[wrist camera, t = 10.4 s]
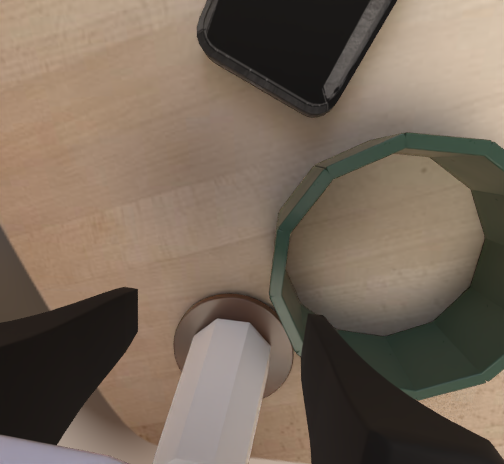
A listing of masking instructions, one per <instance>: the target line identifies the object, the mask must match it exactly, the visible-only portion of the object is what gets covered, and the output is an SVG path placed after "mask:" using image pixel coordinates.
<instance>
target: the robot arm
mask: <svg viewBox="0 0 504 464" xmlns="http://www.w3.org/2000/svg"><path fill="white" fill-rule="evenodd" d="M137 332H138V289H135V288H128V287H122V288H118V289H114V290H111V291H108V292H105V293H102V294H99V295H96V296H94V297H91V298H88V299H85V300H82V301H79V302H76V303H73V304H70V305H67V306H64V307H61V308H58V309H55V310H51V311H48V312H45V313H41V314H38V315H34V316H30V317H26V318H21V319H17V320H13V321H8V322H3V323H0V464H129V463H127V462H124V461H122V460H119V459H117V458H114V457H112V456H109V455H104V454H99V453H94V452H88V451H83V450H78V449H73V448H67V447H62V446H57V444H58V442H59V441H60V439H61V437H62V436H63V434H64V433H65V431H66V430H67V428H68V427H69V425H70V424H71V422H72V421H73V419H74V418H75V416H76V415H77V413H78V412H79V410H80V409H81V407H82V406H83V405H84V403H85V402H86V401H87V399H88V398H89V397H90V395H91V394H92V393H93V392H94V391H95V389H96V388H97V387H98V386H99V384H100V383H101V382H102V381H103V379H104V378H105V377H106V376H107V375H108V373H109V372H110V371H111V370H112V368H113V367H114V366H115V365H116V363H117V362H118V361H119V360H120V358H121V357H122V356H123V354H124V353H125V352H126V350H127V349H128V347H129V346H130V344H131V342H132V341H133V339H134V337H135V335H136V334H137ZM301 381H302V389H303V396H304V403H305V410H306V417H307V423H308V430H309V437H310V447H311V463H312V464H504V460H503V458H502V457H501V456H500V454H499V453H498V451H497V450H496V449H495V447H494V446H493V445H492V444H491V442H490V441H489V440H487V439H485V438H483V437H481V436H479V435H477V434H475V433H473V432H471V431H469V430H467V429H465V428H463V427H462V426H460V425H458V424H456V423H454V422H452V421H450V420H448V419H446V418H445V417H443V416H441V415H439V414H438V413H436V412H434V411H433V410H431V409H429V408H428V407H426V406H424V405H423V404H421V403H420V402H418V401H416V400H415V399H413V398H412V397H410V396H409V395H408V394H406V393H405V392H403V391H402V390H400V389H399V388H398V387H396V386H395V385H393V384H392V383H391V382H389V381H388V380H387V379H386V378H384V377H383V376H382V375H381V374H379V373H378V372H377V371H376V370H375V369H373V368H372V367H371V366H370V365H369V364H368V363H367V362H366V361H364V360H363V359H362V358H361V357H360V356H359V355H358V354H357V353H356V352H355V351H354V350H353V349H352V348H351V347H350V346H349V345H348V343H347V342H346V341H345V340H344V339H343V338H342V337H341V336H340V335H339V333H338V332H337V331H336V330H335V329H334V327H333V326H332V325H331V324H330V323H329V322H328V320H327V319H326V318H325V317H324V316H323V315H317V314H310V313H308V316H307V322H306V328H305V334H304V340H303V346H302V352H301Z"/></svg>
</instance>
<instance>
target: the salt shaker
mask: <svg viewBox="0 0 504 464" xmlns="http://www.w3.org/2000/svg"><path fill="white" fill-rule="evenodd" d="M270 349H271V346H270V345H269V343H268V342H267V341H266V340H265V339H264V338H263V337H262V336H261V335H260V334H259V332H258V331H257V330H256V329H255V328H254V327H253V326H252V325H251V324H250V323H249V322H241V321H233V320H226V319H216V320H214V321H213V322H212V323H210V324H209V325H208V326H206V327H205V328H204V329H202V330H201V331H200V332H198V333H197V334H196V335H194V337H193V340H192V343H191V346H190V349H189V352H188V355H187V358H186V362H185V365H184V368H183V371H182V374H181V377H180V380H179V383H178V386H177V389H176V392H175V395H174V398H173V401H172V404H171V407H170V410H169V413H168V416H167V419H166V423H165V426H164V429H163V432H162V435H161V438H160V441H159V444H158V447H157V450H156V453H155V457H154V460H153V464H248V463H249V459H250V454H251V450H252V445H253V440H254V436H255V431H256V426H257V422H258V417H259V412H260V408H261V403H262V398H263V394H264V389H265V384H266V380H267V375H268V367H269V358H270Z"/></svg>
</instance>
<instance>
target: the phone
mask: <svg viewBox="0 0 504 464" xmlns="http://www.w3.org/2000/svg"><path fill="white" fill-rule="evenodd" d="M396 1H397V0H207V2H206V4H205V7H204V9H203V11H202V14H201V16H200V18H199V22H198V25H197V38H198V41H199V44H200V46H201V47H202V49H203V51H204V52H205V53H206V55H207V56H208V57H209V59H211V60H212V61H213V62H214V63H216V64H218V65H219V66H221V67H223V68H224V69H226V70H228V71H229V72H231V73H233V74H235V75H236V76H238V77H240V78H241V79H243V80H245V81H247V82H248V83H250V84H252V85H253V86H255V87H257V88H258V89H260V90H262V91H264V92H265V93H267V94H269V95H270V96H272V97H274V98H276V99H277V100H279V101H281V102H282V103H284V104H286V105H288V106H289V107H291V108H293V109H294V110H296V111H298V112H299V113H301V114H303V115H305V116H308V117H319V116H322V115H324V114H326V113H327V112H329V111H330V110H331V109H332V108H333V106H334V105H335V104H336V103H337V101H338V100H339V98H340V97H341V95H342V93H343V91H344V90H345V88H346V86H347V85H348V83H349V81H350V80H351V78H352V76H353V74H354V73H355V71H356V69H357V68H358V66H359V64H360V63H361V61H362V59H363V57H364V56H365V54H366V52H367V51H368V49H369V47H370V46H371V44H372V42H373V40H374V39H375V37H376V35H377V34H378V32H379V30H380V29H381V27H382V25H383V23H384V22H385V20H386V18H387V17H388V15H389V13H390V12H391V10H392V8H393V6H394V5H395V3H396Z"/></svg>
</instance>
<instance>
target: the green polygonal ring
mask: <svg viewBox="0 0 504 464" xmlns="http://www.w3.org/2000/svg"><path fill="white" fill-rule="evenodd" d="M391 154H404V155H415V156H425V157H430V158H431V159H433V160H434V161H435V162H436V163H438V164H439V165H440V166H442V167H443V168H444V169H445V170H447V171H448V172H449V173H450V174H452V175H453V176H454V177H456V178H457V179H458V180H459V181H461V182H462V183H463V184H465V185H466V186H467V187H468V188H470V189H471V191H472V195H473V198H474V201H475V205H476V208H477V211H478V215H479V218H480V221H481V225H482V228H483V231H484V235H485V238H486V239H485V242H484V245H483V248H482V251H481V254H480V258H479V261H478V264H477V267H476V270H475V274H474V277H473V280H472V283H471V286H470V288H469V289H467V290H466V291H465V292H464V293H463V294H462V295H461V296H460V297H459V298H458V299H457V300H456V301H455V302H454V303H453V304H451V305H450V306H449V307H448V308H447V309H446V310H445V311H444V312H443V313H442V314H441V315H440V316H439V317H438V318H437V319H435V320H434V321H433V322H431V323H428V324H424V325H421V326H418V327H415V328H411V329H408V330H405V331H402V332H398V333H395V334H392V335H389V336H385V337H384V336H377V335H371V334H364V333H357V332H350V331H343V330H337V329H336V328H334V329H335V330H336V331H337V332H338V333H339V335H340V336H341V337H342V338H343V339H344V340H345V341H346V342H347V343H348V345H349V346H350V347H351V348H352V349H353V350H354V351H355V352H356V353H357V354H358V355H359V356H360V357H361V358H362V359H363V360H364V361H366V362H367V363H368V364H369V365H370V366H371V367H372V368H373V369H375V370H376V371H377V372H378V373H379V374H381V375H382V376H383V377H384V378H386V379H387V380H388V381H389V382H391V383H392V384H393V385H395V386H396V387H398V388H399V389H400V390H402V391H403V392H405V393H406V394H408V395H409V396H410V397H412V398H413V399H415V400H422V399H426V398H430V397H434V396H438V395H442V394H445V393H449V392H453V391H457V390H461V389H465V388H468V387H472V386H476V385H480V384H484V383H486V381H490V380H491V379H492V378H494V377H495V376H496V375H497V374H499V373H500V372H501V371H502V370H504V149H503V148H501V147H500V146H499V145H498V144H496V143H495V142H491V140H484V139H473V138H462V137H451V136H440V135H429V134H418V133H401V134H396V135H392V136H387V137H383V138H378V139H374V140H370V141H367V142H365V143H363V144H361V145H358V146H356V147H354V148H352V149H349V150H347V151H345V152H343V153H340V154H338V155H336V156H334V157H331V158H329V159H327V160H325V161H322V162H320V163H318V164H316V165H315V166H313V167H312V169H311V170H310V171H309V173H308V174H307V175H306V176H305V178H304V179H303V180H302V182H301V183H300V184H299V186H298V187H297V188H296V190H295V191H294V192H293V193H292V195H291V196H290V197H289V199H288V200H287V201H286V203H285V204H284V205H283V207H282V208H281V209H280V212H279V213H278V221H277V229H276V237H275V246H274V254H273V262H272V271H271V280H270V289H269V295H270V300H271V302H272V304H273V306H274V308H275V310H276V312H277V315H278V317H279V319H280V321H281V323H282V325H283V327H284V330H285V332H286V334H287V336H288V338H289V340H290V342H291V345H292V347H293V349H294V351H295V352H296V354H297V355H299V356H300V357H301V352H302V346H303V340H304V334H305V328H306V322H307V316H308V313H310V314H315V313H313V312H312V311H311V310H309V309H308V308H306V307H305V306H304V305H302V304H301V303H300V301H299V299H298V296H297V294H296V292H295V290H294V288H293V285H292V283H291V281H290V279H289V276H288V274H287V272H286V270H285V268H286V261H287V253H288V246H289V239H290V233H291V232H292V231H293V230H294V228H295V227H296V226H297V225H298V223H299V222H300V221H301V220H302V218H303V217H304V216H305V215H306V213H307V212H308V211H309V209H310V208H311V207H312V206H313V204H314V203H315V202H316V201H317V199H318V198H319V197H320V196H321V194H322V193H323V192H324V191H325V189H326V188H327V187H328V186H329V184H330V183H331V182H332V181H333V179H335V178H338V177H340V176H342V175H345V174H347V173H349V172H352V171H354V170H356V169H359V168H361V167H363V166H366V165H368V164H370V163H373V162H375V161H377V160H380V159H382V158H384V157H387V156H389V155H391ZM485 380H486V381H485Z"/></svg>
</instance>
